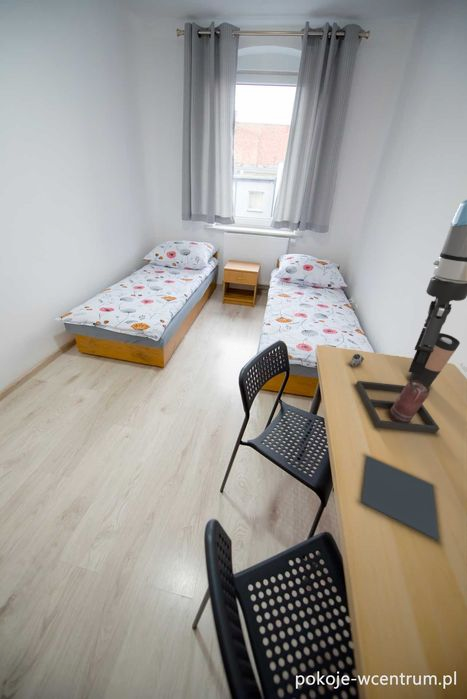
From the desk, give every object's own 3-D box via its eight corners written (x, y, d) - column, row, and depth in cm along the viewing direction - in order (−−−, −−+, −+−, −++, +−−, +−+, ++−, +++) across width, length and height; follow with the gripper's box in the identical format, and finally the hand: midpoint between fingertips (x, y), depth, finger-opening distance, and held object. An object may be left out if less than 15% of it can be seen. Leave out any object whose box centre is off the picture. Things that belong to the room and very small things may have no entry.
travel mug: (412, 373, 110) (439, 330, 98) (432, 384, 105) (463, 340, 94) (404, 380, 106) (431, 336, 94) (425, 392, 101) (456, 347, 90)
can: (389, 422, 87) (410, 390, 79) (387, 408, 92) (406, 376, 84) (410, 428, 86) (433, 396, 78) (406, 414, 91) (428, 382, 83)
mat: (431, 486, 71) (432, 485, 70) (437, 540, 60) (438, 539, 60) (366, 457, 76) (367, 456, 75) (361, 502, 65) (362, 501, 65)
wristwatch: (346, 363, 110) (351, 353, 107) (357, 360, 113) (362, 350, 110) (353, 369, 108) (358, 359, 105) (364, 365, 111) (369, 355, 108)
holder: (406, 391, 100) (409, 386, 99) (435, 433, 85) (439, 428, 84) (355, 385, 100) (357, 380, 98) (375, 427, 84) (378, 422, 83)
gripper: (434, 266, 72) (407, 339, 82) (427, 288, 54) (393, 378, 64) (470, 271, 68) (437, 347, 78) (476, 296, 50) (431, 390, 60)
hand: (417, 361), depth 71 cm, fingers open, 13 cm apart
